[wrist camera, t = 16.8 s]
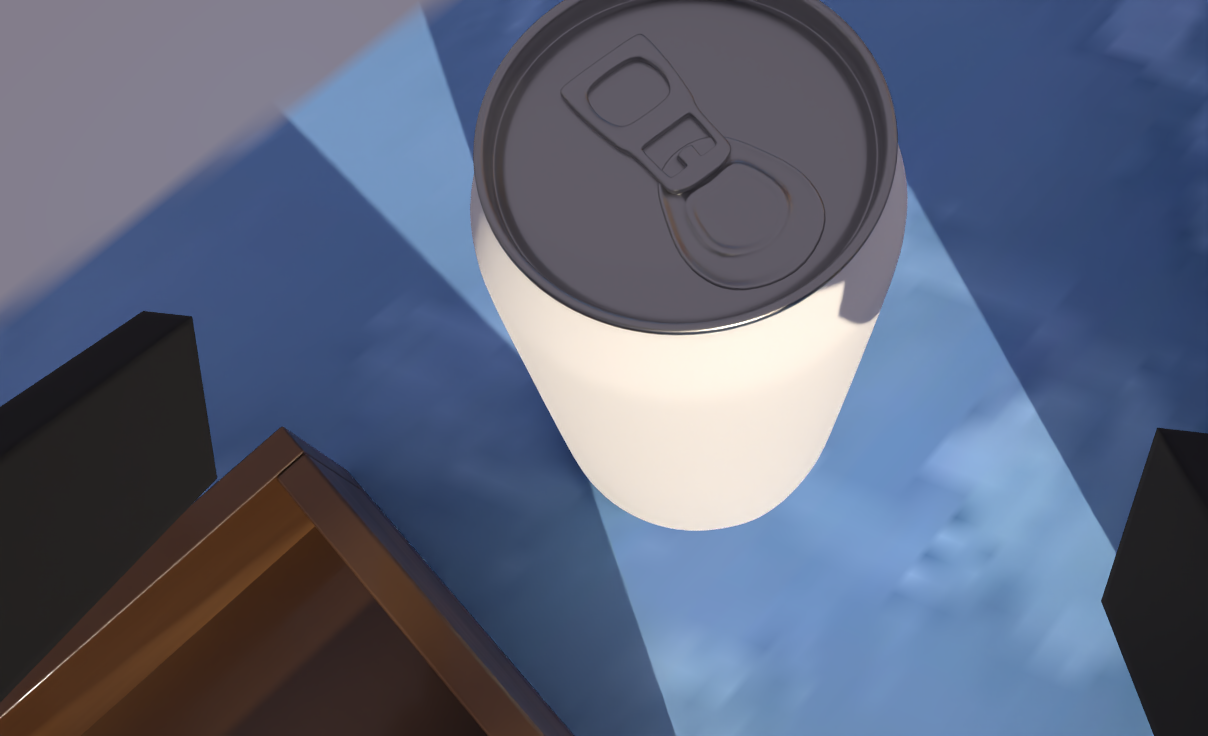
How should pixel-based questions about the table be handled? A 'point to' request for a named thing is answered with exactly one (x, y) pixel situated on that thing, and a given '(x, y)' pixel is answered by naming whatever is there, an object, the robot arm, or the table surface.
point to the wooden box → (278, 627)
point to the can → (689, 239)
